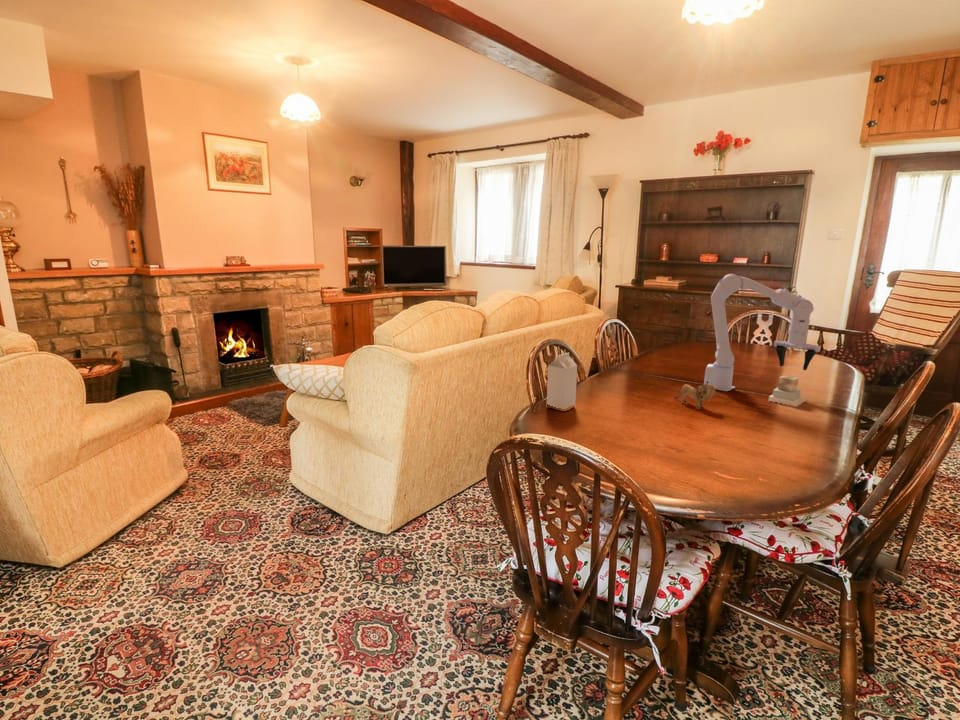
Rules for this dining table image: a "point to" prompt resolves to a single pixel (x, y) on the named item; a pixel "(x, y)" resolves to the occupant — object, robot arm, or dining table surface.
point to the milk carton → (562, 382)
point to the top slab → (786, 394)
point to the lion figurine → (697, 393)
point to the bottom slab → (786, 401)
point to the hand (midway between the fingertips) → (793, 367)
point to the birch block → (787, 383)
